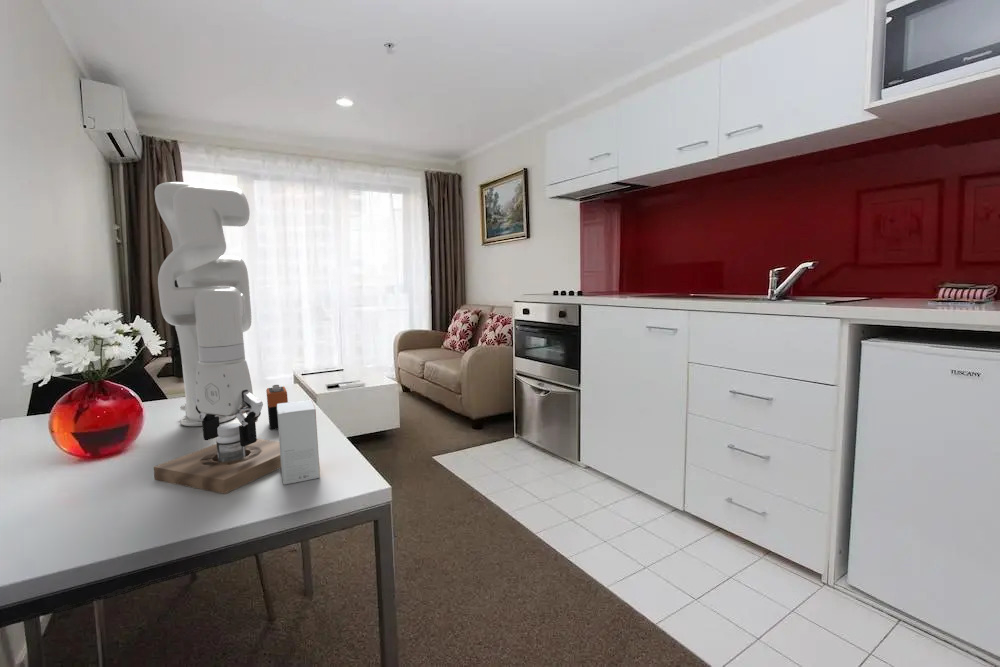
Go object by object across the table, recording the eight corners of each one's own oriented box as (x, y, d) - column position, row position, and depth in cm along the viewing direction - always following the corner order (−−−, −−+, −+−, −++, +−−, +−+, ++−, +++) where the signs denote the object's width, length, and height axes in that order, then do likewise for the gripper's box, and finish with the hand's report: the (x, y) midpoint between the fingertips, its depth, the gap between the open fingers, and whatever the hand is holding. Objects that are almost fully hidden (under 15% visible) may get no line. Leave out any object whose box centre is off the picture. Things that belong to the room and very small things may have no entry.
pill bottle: (225, 463, 97) (222, 422, 96) (250, 462, 98) (246, 421, 97) (214, 473, 93) (210, 430, 92) (240, 471, 93) (236, 429, 92)
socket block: (154, 479, 90) (153, 466, 90) (239, 447, 107) (238, 436, 106) (225, 494, 83) (223, 480, 83) (303, 456, 100) (302, 445, 100)
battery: (270, 430, 118) (267, 390, 117) (269, 423, 124) (265, 384, 123) (290, 427, 120) (286, 387, 119) (287, 420, 126) (284, 382, 125)
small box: (320, 478, 89) (316, 408, 87) (282, 485, 86) (277, 413, 85) (316, 463, 96) (311, 398, 95) (281, 469, 94) (275, 403, 92)
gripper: (171, 354, 92) (180, 442, 94) (238, 359, 86) (246, 453, 88) (208, 348, 99) (215, 430, 101) (272, 352, 93) (279, 439, 95)
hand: (230, 441), depth 95 cm, fingers open, 9 cm apart
